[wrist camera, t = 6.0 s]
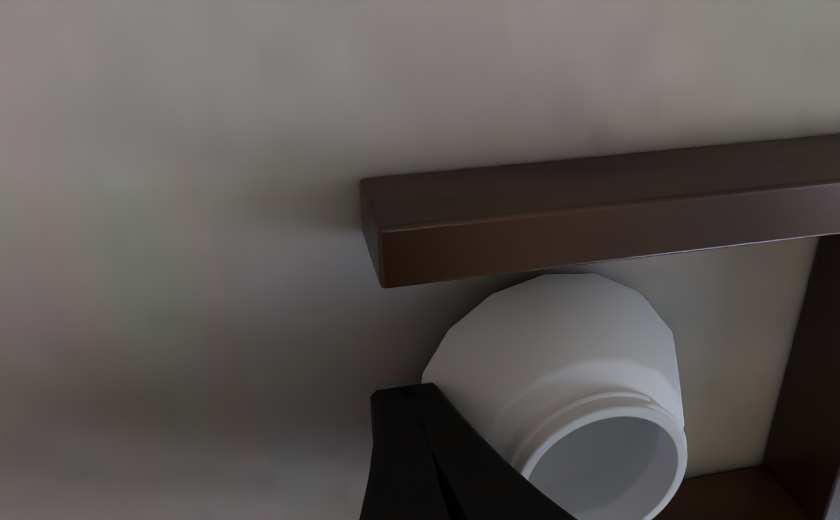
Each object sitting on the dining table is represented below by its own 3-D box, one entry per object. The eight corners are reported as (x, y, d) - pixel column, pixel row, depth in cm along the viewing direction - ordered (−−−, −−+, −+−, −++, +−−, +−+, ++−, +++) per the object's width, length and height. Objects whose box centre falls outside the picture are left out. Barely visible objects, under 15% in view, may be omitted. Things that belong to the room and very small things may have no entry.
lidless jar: (572, 495, 16) (703, 313, 15) (633, 610, 14) (800, 403, 12) (370, 440, 14) (497, 224, 13) (398, 562, 12) (560, 310, 10)
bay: (381, 565, 16) (398, 648, 14) (358, 177, 12) (377, 228, 10) (791, 489, 18) (850, 555, 16) (894, 127, 14) (989, 163, 12)
